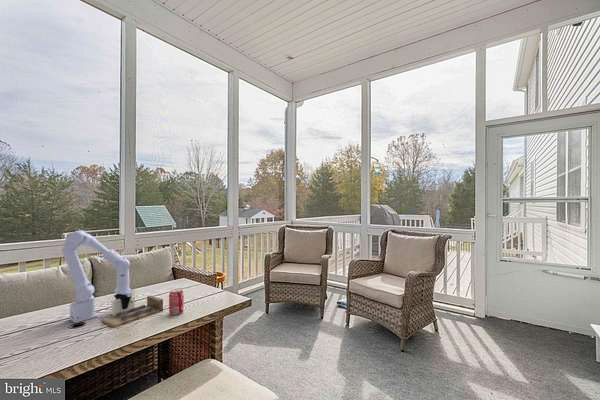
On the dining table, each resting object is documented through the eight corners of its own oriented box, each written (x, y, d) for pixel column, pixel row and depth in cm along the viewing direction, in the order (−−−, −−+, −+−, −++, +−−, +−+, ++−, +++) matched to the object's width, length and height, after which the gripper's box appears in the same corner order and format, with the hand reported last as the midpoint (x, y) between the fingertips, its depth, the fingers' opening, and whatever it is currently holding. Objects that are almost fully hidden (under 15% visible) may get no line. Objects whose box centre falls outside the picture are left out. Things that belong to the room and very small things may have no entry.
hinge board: (113, 327, 129) (113, 314, 129) (101, 321, 135) (101, 309, 135) (162, 310, 149) (162, 299, 149) (150, 306, 155) (150, 295, 155)
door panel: (115, 316, 142) (115, 302, 142) (111, 314, 145) (111, 300, 145) (135, 309, 151) (135, 296, 151) (131, 308, 153) (131, 295, 153)
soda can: (180, 309, 151) (180, 287, 151) (185, 313, 146) (185, 290, 146) (167, 313, 146) (167, 290, 146) (172, 317, 141) (172, 293, 141)
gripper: (138, 282, 148) (138, 308, 147) (124, 278, 155) (124, 303, 155) (123, 286, 142) (123, 312, 142) (110, 281, 149) (110, 307, 149)
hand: (123, 307), depth 148 cm, fingers open, 3 cm apart
